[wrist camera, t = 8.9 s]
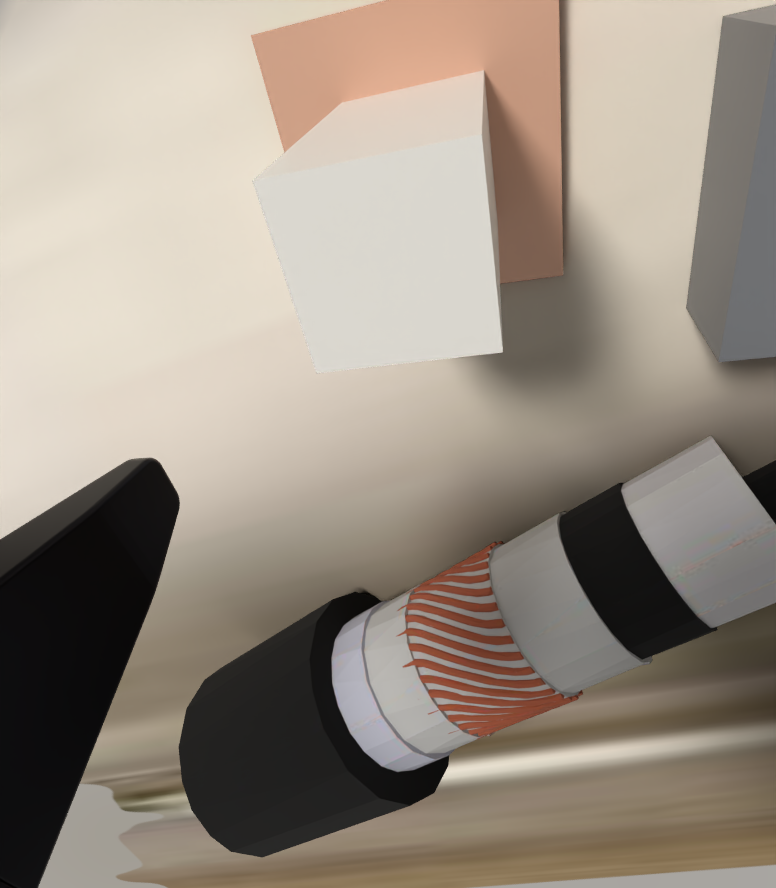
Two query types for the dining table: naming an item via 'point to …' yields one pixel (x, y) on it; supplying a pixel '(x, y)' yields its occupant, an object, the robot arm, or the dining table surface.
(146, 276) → the dining table surface
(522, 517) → the dining table surface
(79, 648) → the robot arm
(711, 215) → the grey hollow box
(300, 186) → the white block
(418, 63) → the coaster
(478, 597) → the cable
